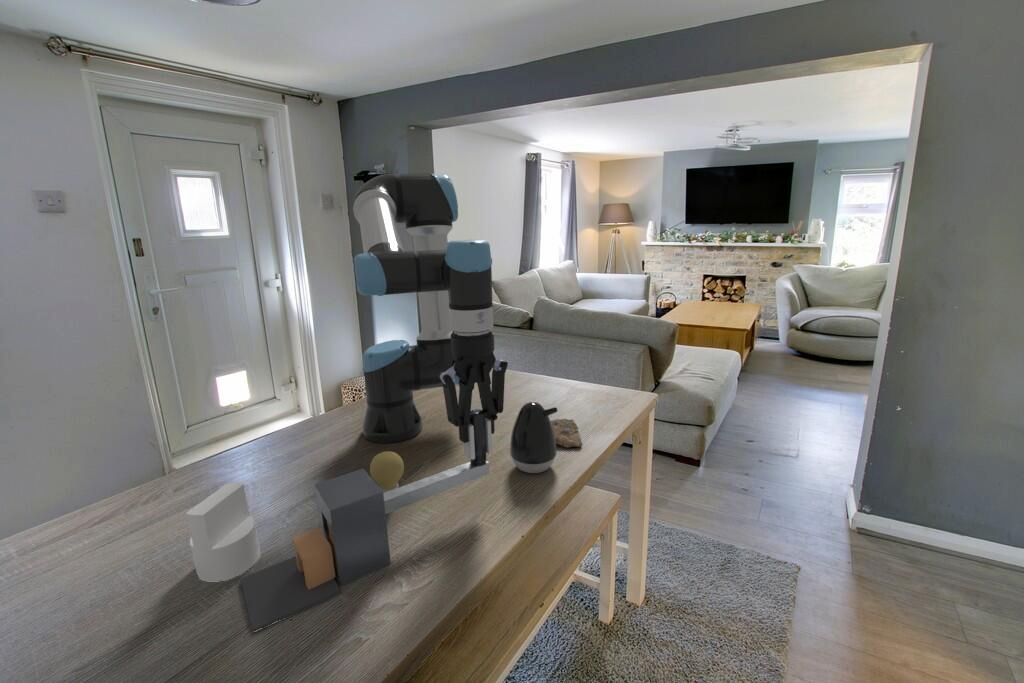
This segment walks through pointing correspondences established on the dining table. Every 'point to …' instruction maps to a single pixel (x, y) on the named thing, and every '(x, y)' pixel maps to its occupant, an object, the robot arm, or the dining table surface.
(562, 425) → the rock
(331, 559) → the tan wooden block
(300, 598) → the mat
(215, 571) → the cylinder with rectangular tab
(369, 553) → the bearing block
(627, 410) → the dining table surface
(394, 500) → the shaft
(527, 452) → the pump dispenser
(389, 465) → the light bulb
